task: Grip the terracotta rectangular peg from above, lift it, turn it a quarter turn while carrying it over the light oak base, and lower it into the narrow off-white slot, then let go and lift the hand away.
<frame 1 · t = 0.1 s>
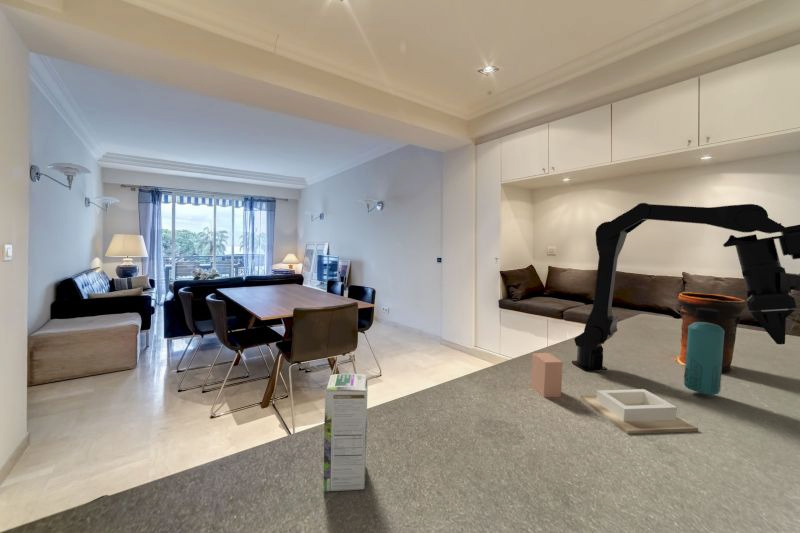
hand: (779, 339, 70), 15 cm above the countertop, tool pointing down, fingers open, 9 cm apart
syrup box: (346, 478, 50), on the countertop
beverage bottle: (700, 395, 80), on the countertop
terracotta peg: (545, 391, 80), on the countertop
socket collar: (634, 404, 70), on the socket base, point 1 cm above the countertop
socket base: (633, 413, 71), on the countertop
vessel: (704, 365, 99), on the countertop
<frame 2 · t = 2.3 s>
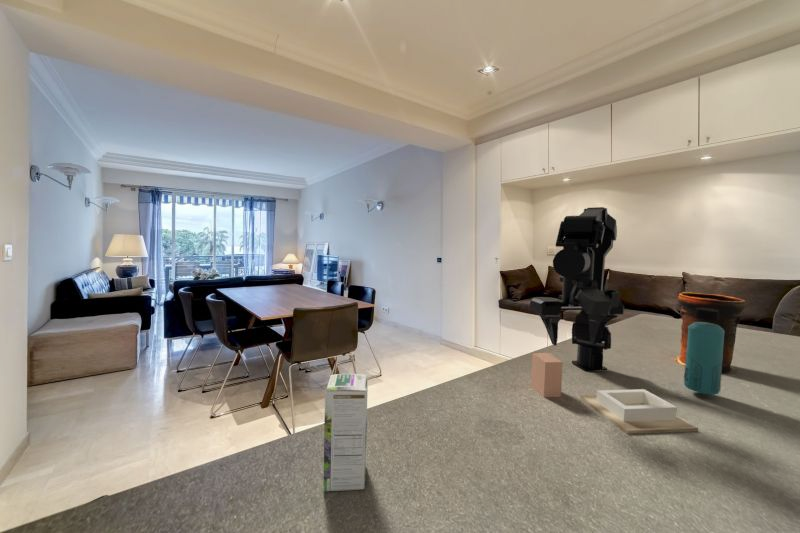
hand: (573, 344, 76), 12 cm above the countertop, tool pointing down, fingers open, 9 cm apart
nothing on the countertop moved.
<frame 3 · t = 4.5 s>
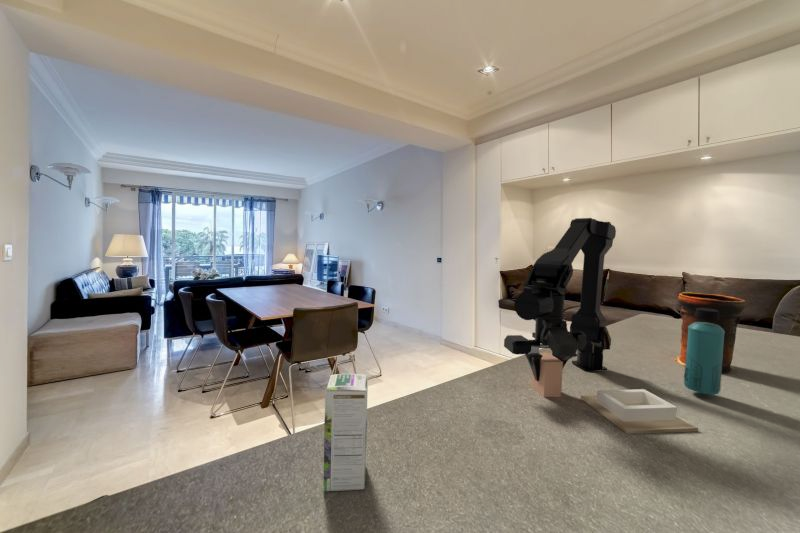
hand: (546, 380, 80), 3 cm above the countertop, tool pointing down, fingers closed on terracotta peg, 4 cm apart
terracotta peg: (545, 391, 80), on the countertop, touching gripper
everything else where it was.
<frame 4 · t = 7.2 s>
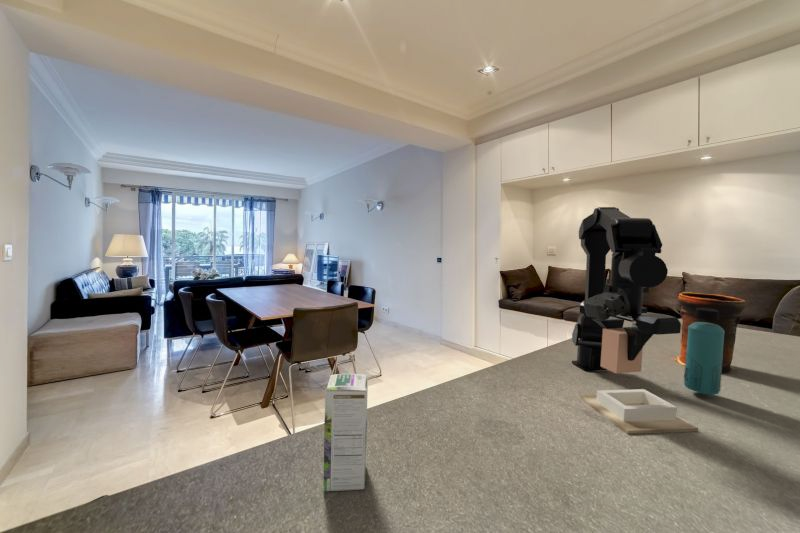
hand: (621, 356, 71), 11 cm above the countertop, tool pointing down, fingers closed on terracotta peg, 4 cm apart
terracotta peg: (620, 368, 71), point 9 cm above the countertop, touching gripper
everything else where it was.
when the fingers open (4 cm above the countertop, at t = 9.9 s): terracotta peg drops 1 cm, resting on socket base.
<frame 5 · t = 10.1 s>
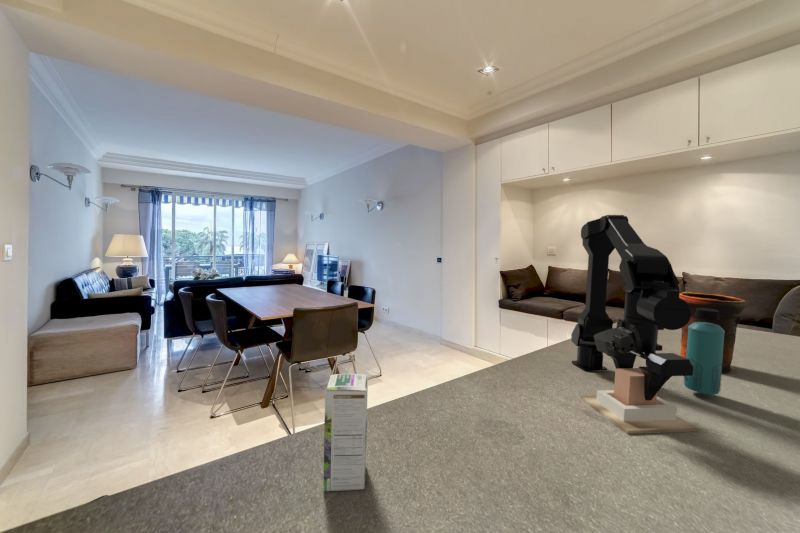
hand: (635, 392, 70), 4 cm above the countertop, tool pointing down, fingers open, 6 cm apart
terracotta peg: (633, 410, 71), point 1 cm above the countertop, touching socket base
everything else where it was.
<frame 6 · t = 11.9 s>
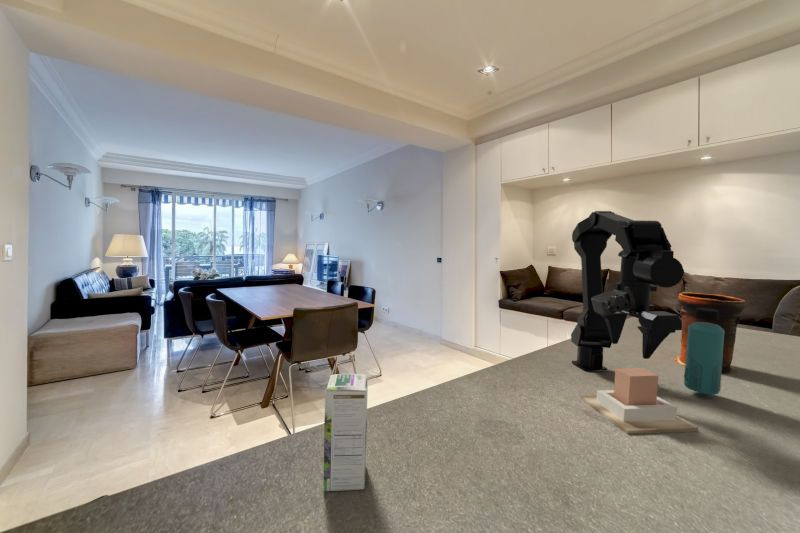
hand: (629, 350, 76), 11 cm above the countertop, tool pointing down, fingers open, 9 cm apart
nothing on the countertop moved.
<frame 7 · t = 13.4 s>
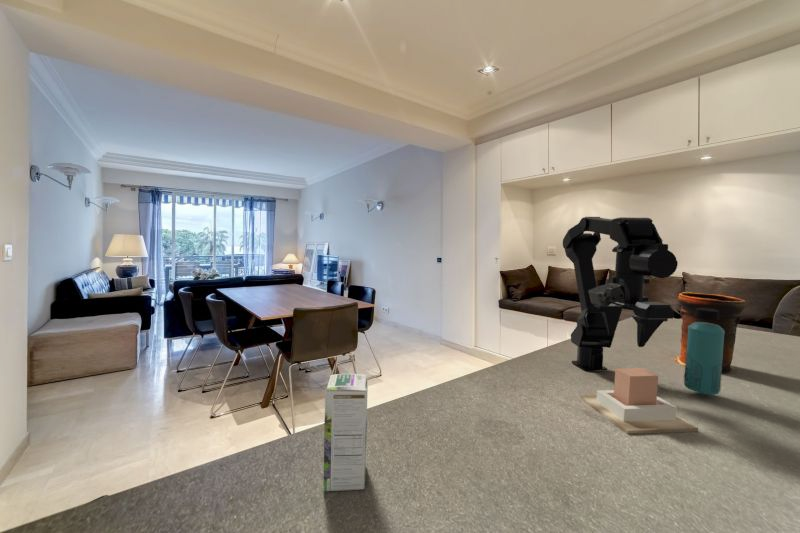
hand: (624, 340, 80), 12 cm above the countertop, tool pointing down, fingers open, 9 cm apart
nothing on the countertop moved.
at the end: terracotta peg 0.1 cm off-centre on the socket collar, point 0.6 cm above the socket collar's base; terracotta peg tilted 0°; the gripper is holding nothing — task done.
